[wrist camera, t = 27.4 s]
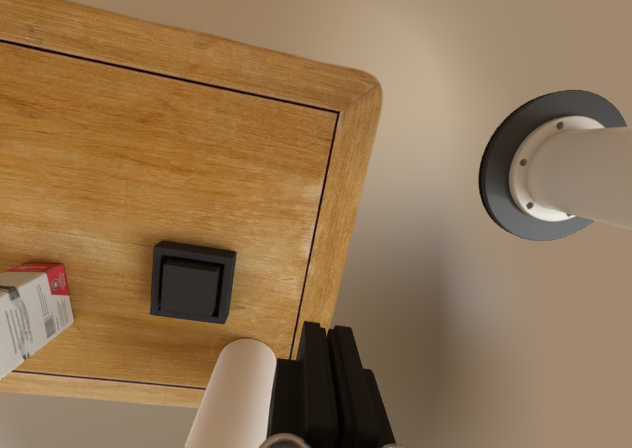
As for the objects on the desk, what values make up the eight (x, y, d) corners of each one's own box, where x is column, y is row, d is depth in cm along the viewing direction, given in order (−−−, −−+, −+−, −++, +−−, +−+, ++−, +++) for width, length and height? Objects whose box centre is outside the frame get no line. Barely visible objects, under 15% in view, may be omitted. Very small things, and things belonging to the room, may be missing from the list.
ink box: (22, 262, 36) (-104, 315, 25) (64, 263, 37) (-41, 316, 25) (36, 322, 39) (-75, 397, 27) (75, 323, 39) (-18, 397, 27)
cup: (286, 351, 42) (278, 472, 26) (261, 394, 43) (240, 531, 28) (232, 329, 40) (191, 443, 25) (208, 374, 42) (156, 507, 27)
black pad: (221, 263, 37) (216, 272, 34) (216, 305, 38) (211, 316, 36) (172, 256, 36) (163, 264, 34) (169, 299, 38) (160, 310, 35)
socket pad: (236, 251, 38) (232, 258, 35) (228, 314, 40) (224, 324, 38) (162, 240, 37) (153, 246, 34) (158, 305, 39) (149, 315, 37)
